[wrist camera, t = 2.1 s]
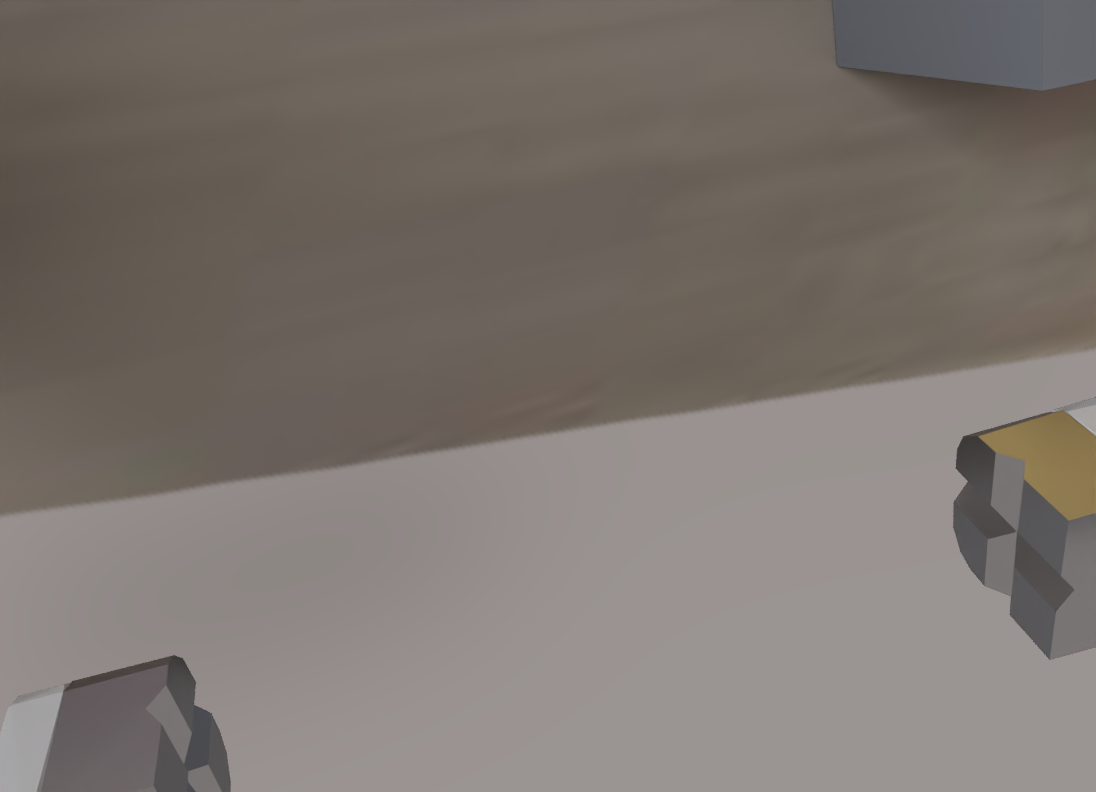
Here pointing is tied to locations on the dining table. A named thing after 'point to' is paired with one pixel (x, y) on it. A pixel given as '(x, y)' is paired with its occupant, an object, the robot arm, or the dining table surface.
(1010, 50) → the podium
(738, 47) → the dining table surface
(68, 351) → the dining table surface
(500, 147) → the dining table surface
